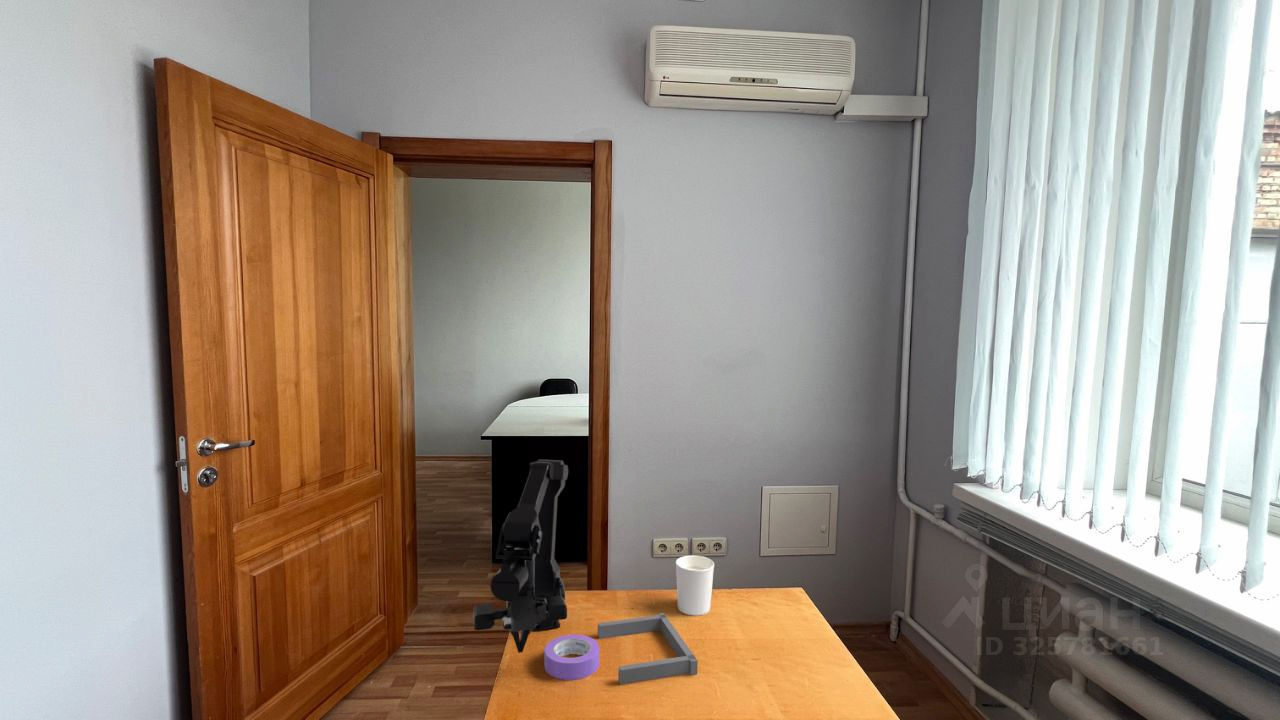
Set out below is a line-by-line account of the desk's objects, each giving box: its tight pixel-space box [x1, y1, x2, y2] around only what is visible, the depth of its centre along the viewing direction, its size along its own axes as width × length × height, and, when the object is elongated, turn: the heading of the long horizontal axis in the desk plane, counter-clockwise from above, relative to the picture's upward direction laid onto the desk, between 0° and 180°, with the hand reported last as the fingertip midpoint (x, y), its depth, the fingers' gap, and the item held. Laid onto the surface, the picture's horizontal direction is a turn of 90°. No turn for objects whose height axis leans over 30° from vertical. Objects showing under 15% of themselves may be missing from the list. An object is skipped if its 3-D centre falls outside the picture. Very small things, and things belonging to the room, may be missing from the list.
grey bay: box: [597, 612, 699, 686], centre depth 136 cm, size 22×16×3 cm
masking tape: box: [544, 634, 600, 681], centre depth 132 cm, size 12×12×4 cm
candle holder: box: [675, 555, 715, 616], centre depth 158 cm, size 10×10×12 cm
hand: (520, 651), depth 128 cm, fingers closed
